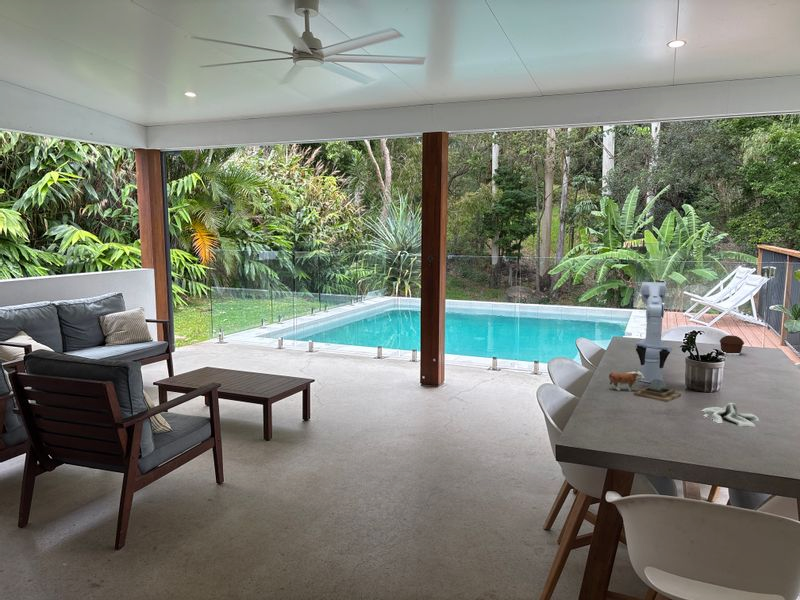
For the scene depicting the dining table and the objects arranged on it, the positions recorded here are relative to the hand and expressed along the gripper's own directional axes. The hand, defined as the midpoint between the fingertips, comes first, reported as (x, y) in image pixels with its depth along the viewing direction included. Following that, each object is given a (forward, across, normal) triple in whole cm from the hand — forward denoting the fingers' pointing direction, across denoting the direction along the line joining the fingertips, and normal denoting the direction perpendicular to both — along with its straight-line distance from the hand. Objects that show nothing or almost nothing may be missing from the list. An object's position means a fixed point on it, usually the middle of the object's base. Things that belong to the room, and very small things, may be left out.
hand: (651, 366), depth 235 cm
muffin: (+10, -2, +107) cm, 107 cm away
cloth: (+10, +35, -20) cm, 42 cm away
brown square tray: (+9, +6, -8) cm, 14 cm away
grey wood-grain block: (+9, +6, -8) cm, 13 cm away
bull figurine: (+10, -6, -10) cm, 15 cm away
